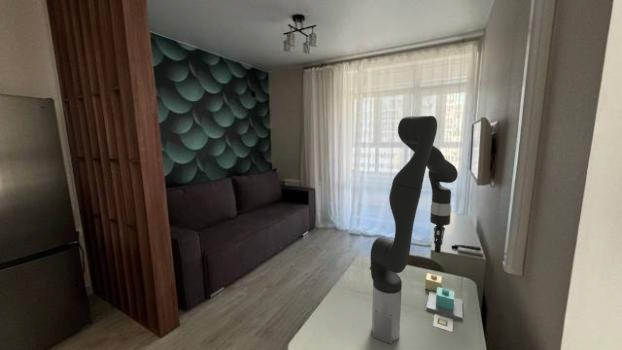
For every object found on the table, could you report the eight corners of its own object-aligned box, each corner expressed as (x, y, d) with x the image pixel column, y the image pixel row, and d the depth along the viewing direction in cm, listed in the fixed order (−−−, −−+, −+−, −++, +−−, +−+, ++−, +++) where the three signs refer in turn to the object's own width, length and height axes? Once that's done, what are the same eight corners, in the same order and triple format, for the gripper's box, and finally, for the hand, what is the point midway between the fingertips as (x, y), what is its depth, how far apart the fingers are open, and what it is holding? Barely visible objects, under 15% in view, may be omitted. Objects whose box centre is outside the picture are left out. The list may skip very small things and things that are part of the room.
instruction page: (452, 332, 87) (452, 331, 87) (433, 326, 90) (433, 325, 90) (452, 319, 93) (452, 319, 93) (434, 314, 96) (434, 313, 96)
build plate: (462, 320, 92) (462, 315, 92) (426, 310, 98) (426, 304, 98) (462, 302, 102) (462, 297, 102) (429, 293, 108) (429, 288, 108)
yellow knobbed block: (440, 292, 109) (441, 280, 108) (425, 288, 112) (425, 277, 111) (441, 285, 114) (442, 274, 113) (426, 281, 117) (427, 270, 116)
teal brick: (453, 310, 96) (454, 297, 95) (435, 305, 99) (436, 292, 98) (453, 301, 101) (454, 288, 100) (436, 297, 104) (437, 284, 103)
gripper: (449, 218, 99) (447, 257, 101) (451, 208, 111) (449, 243, 113) (428, 215, 103) (426, 253, 105) (432, 206, 115) (431, 240, 117)
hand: (438, 248), depth 109 cm, fingers open, 8 cm apart
